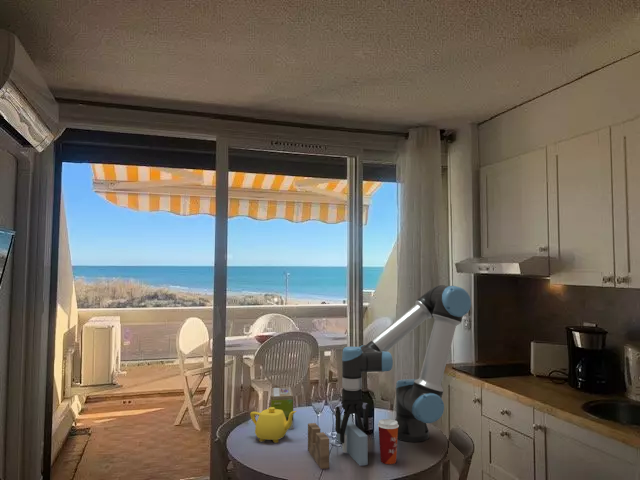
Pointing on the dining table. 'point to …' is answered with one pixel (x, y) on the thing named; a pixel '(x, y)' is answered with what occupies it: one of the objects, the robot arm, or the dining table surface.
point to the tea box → (283, 401)
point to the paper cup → (388, 440)
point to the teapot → (271, 424)
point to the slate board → (356, 443)
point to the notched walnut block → (318, 445)
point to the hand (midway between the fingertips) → (352, 450)
